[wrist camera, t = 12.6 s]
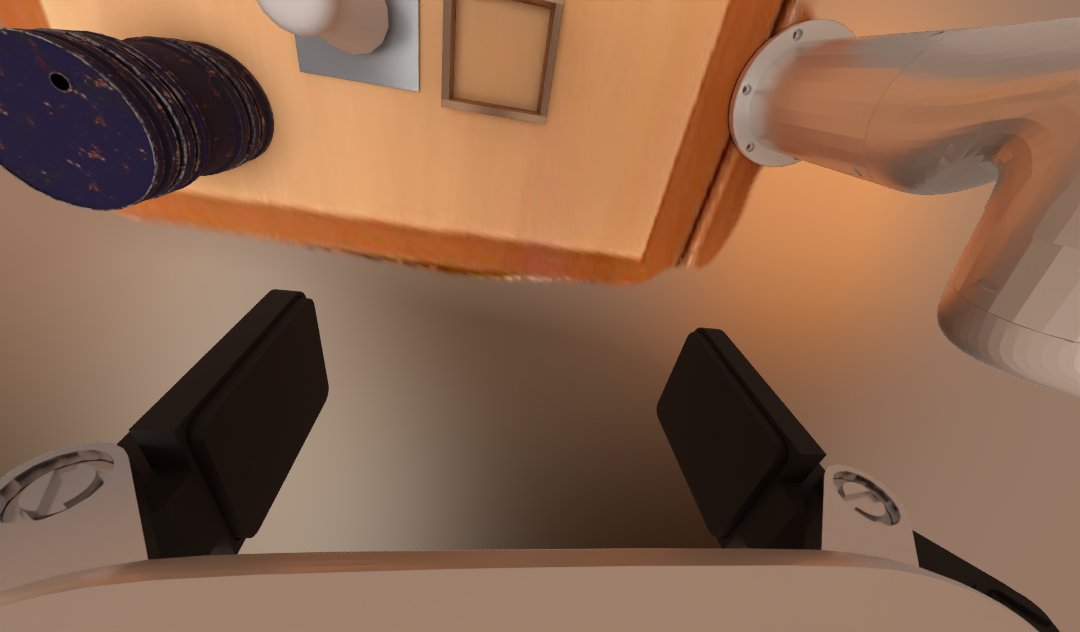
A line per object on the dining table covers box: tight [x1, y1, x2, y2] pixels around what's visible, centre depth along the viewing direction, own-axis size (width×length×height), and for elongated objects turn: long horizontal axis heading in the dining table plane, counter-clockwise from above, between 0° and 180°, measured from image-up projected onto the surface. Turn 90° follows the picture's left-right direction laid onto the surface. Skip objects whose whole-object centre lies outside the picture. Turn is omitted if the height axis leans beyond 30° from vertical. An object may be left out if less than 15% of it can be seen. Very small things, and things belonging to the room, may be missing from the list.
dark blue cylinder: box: [0, 27, 274, 211], centre depth 29 cm, size 10×10×15 cm
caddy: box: [441, 0, 564, 124], centre depth 33 cm, size 9×9×4 cm
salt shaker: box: [257, 0, 389, 55], centre depth 26 cm, size 6×6×13 cm
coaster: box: [295, 0, 420, 92], centre depth 32 cm, size 10×10×1 cm
